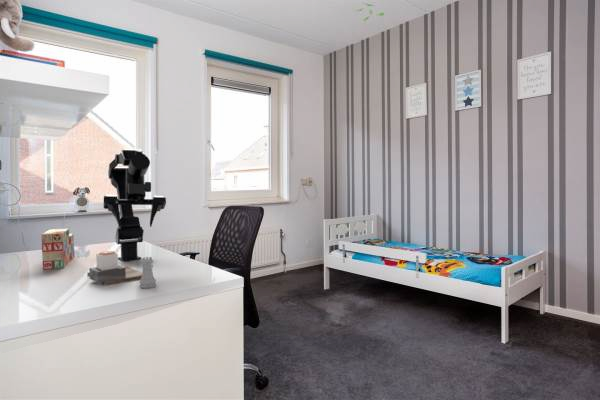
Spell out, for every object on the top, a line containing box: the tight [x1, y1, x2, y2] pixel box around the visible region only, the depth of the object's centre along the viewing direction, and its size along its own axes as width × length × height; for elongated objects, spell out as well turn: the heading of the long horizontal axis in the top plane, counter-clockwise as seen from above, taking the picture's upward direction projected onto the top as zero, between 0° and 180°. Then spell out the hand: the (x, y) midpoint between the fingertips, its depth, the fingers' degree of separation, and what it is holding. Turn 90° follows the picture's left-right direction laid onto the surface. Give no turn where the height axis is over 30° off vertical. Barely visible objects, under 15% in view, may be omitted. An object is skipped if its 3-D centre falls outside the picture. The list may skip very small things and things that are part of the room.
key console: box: [86, 264, 143, 287], centre depth 116 cm, size 16×14×4 cm
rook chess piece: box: [138, 256, 157, 289], centre depth 106 cm, size 4×4×8 cm
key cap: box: [95, 250, 119, 270], centre depth 111 cm, size 4×4×4 cm
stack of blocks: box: [40, 228, 76, 271], centre depth 138 cm, size 21×6×12 cm, turn 22°
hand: (135, 226), depth 124 cm, fingers open, 9 cm apart
